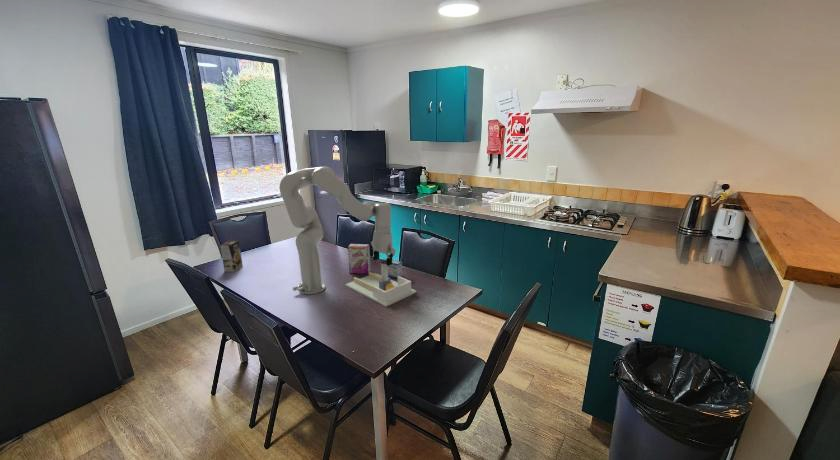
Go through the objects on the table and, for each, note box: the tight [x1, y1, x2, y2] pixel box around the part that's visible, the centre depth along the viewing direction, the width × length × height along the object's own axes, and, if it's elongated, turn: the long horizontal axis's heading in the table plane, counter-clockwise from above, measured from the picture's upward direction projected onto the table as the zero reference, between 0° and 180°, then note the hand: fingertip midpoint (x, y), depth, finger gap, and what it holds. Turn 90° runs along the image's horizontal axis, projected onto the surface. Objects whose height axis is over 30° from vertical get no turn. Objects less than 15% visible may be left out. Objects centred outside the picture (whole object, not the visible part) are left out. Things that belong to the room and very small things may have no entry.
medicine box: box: [388, 259, 403, 279], centre depth 190 cm, size 8×4×9 cm, turn 62°
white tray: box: [345, 271, 417, 308], centre depth 175 cm, size 20×32×6 cm, turn 46°
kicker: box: [379, 258, 392, 290], centre depth 171 cm, size 6×3×15 cm, turn 136°
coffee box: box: [219, 240, 243, 273], centre depth 200 cm, size 9×6×16 cm
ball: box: [385, 283, 394, 291], centre depth 170 cm, size 4×4×4 cm
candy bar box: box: [347, 243, 371, 275], centre depth 194 cm, size 11×5×16 cm, turn 84°
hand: (382, 262), depth 169 cm, fingers open, 9 cm apart
